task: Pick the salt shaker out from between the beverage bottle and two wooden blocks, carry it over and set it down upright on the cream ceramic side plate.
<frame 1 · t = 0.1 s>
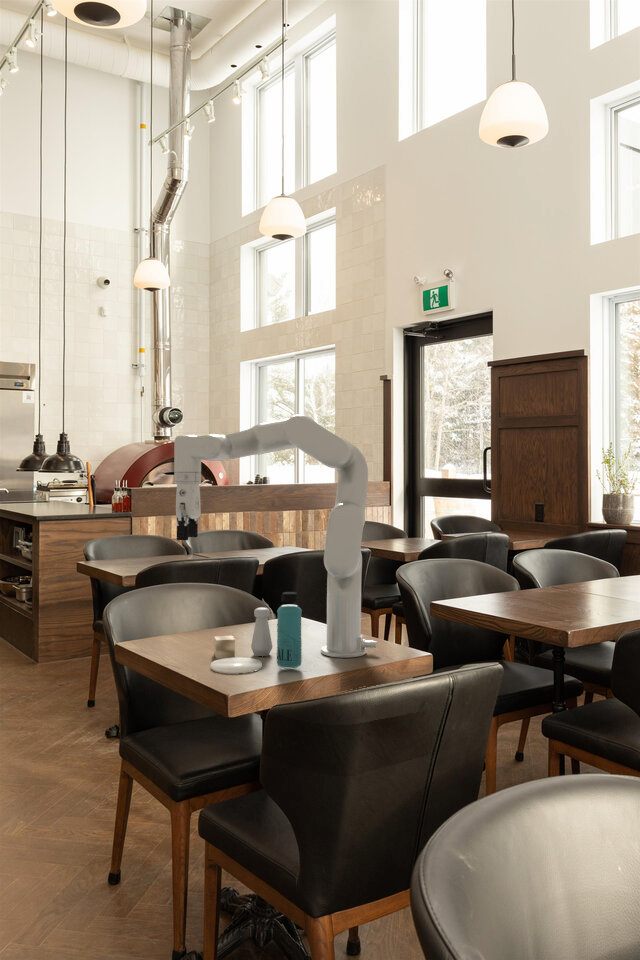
hand: (187, 538, 230), 31 cm above the table, tool pointing down, fingers open, 9 cm apart
walnut block: (288, 660, 217), on the table
oak block: (224, 656, 221), on the table
salt shaker: (261, 656, 222), on the table
beverage bottle: (289, 671, 206), on the table
side plate: (236, 667, 208), on the table
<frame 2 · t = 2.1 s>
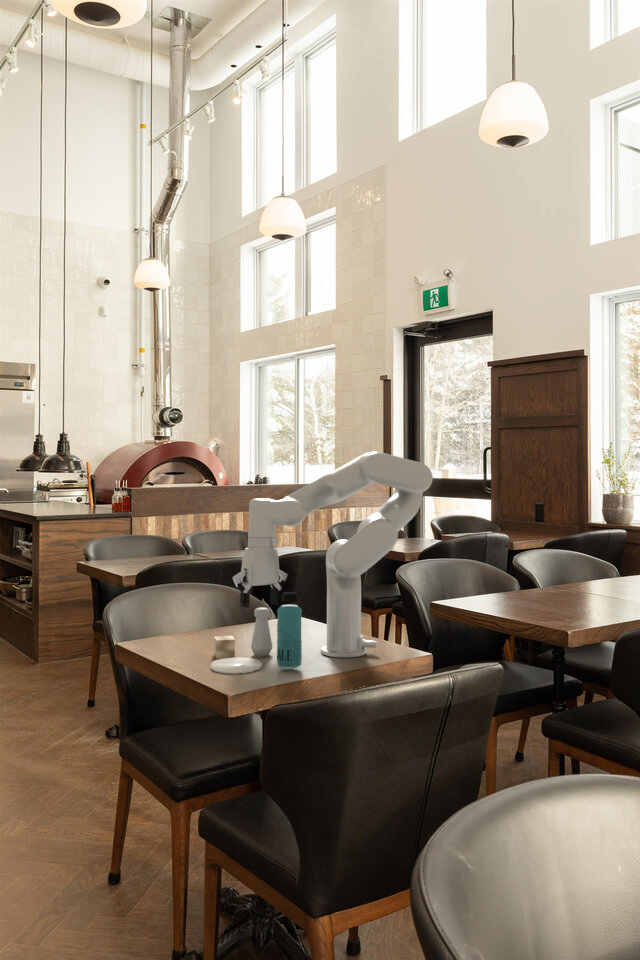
hand: (259, 605, 221), 14 cm above the table, tool pointing down, fingers open, 9 cm apart
nothing on the table moved.
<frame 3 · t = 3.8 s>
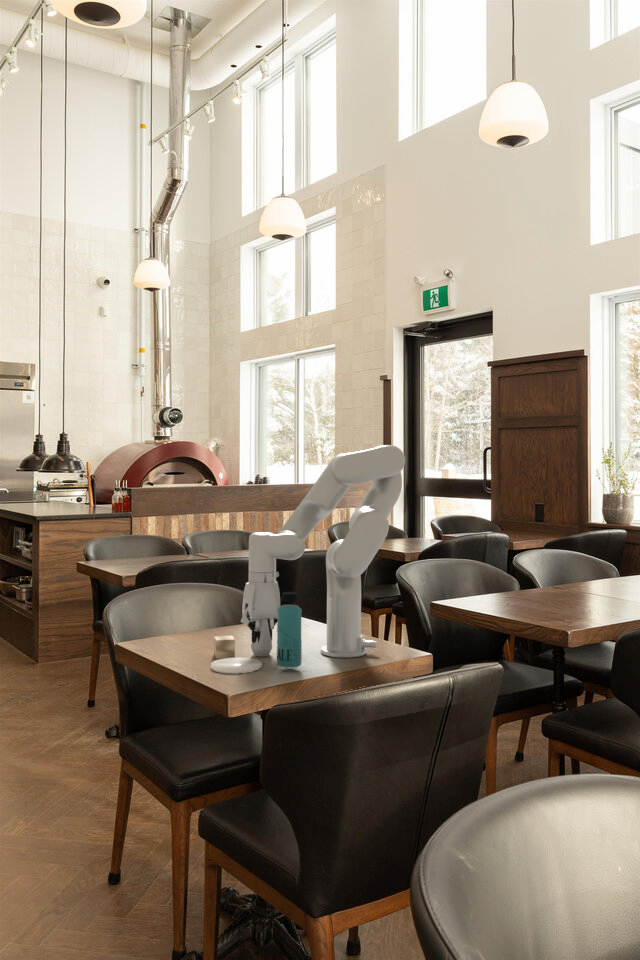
hand: (261, 643, 222), 3 cm above the table, tool pointing down, fingers closed on salt shaker, 3 cm apart
salt shaker: (261, 655, 222), on the table, touching gripper
everything else where it was.
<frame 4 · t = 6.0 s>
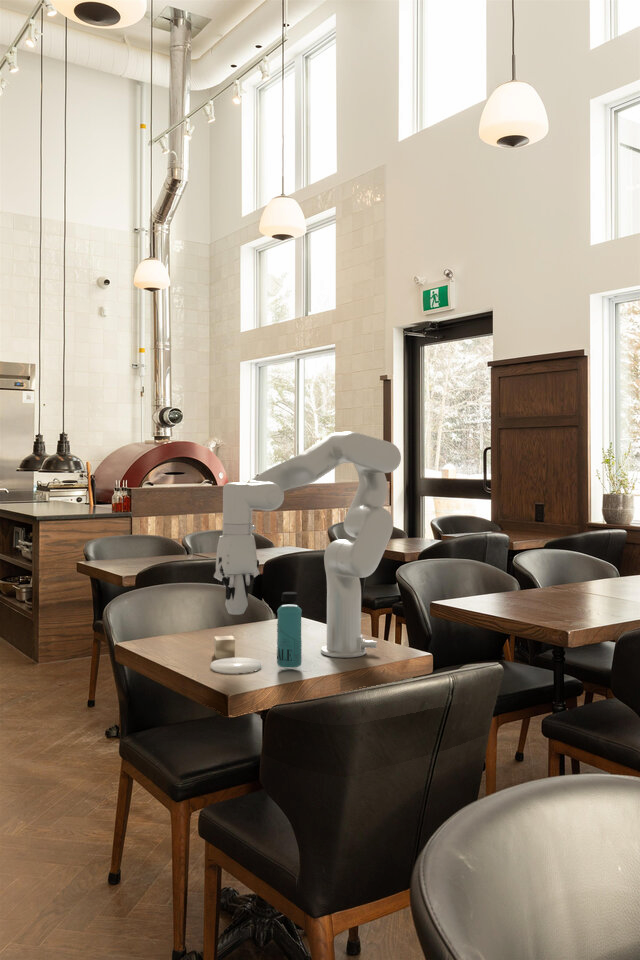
hand: (236, 600, 208), 17 cm above the table, tool pointing down, fingers closed on salt shaker, 3 cm apart
salt shaker: (236, 613, 208), point 14 cm above the table, touching gripper
everything else where it was.
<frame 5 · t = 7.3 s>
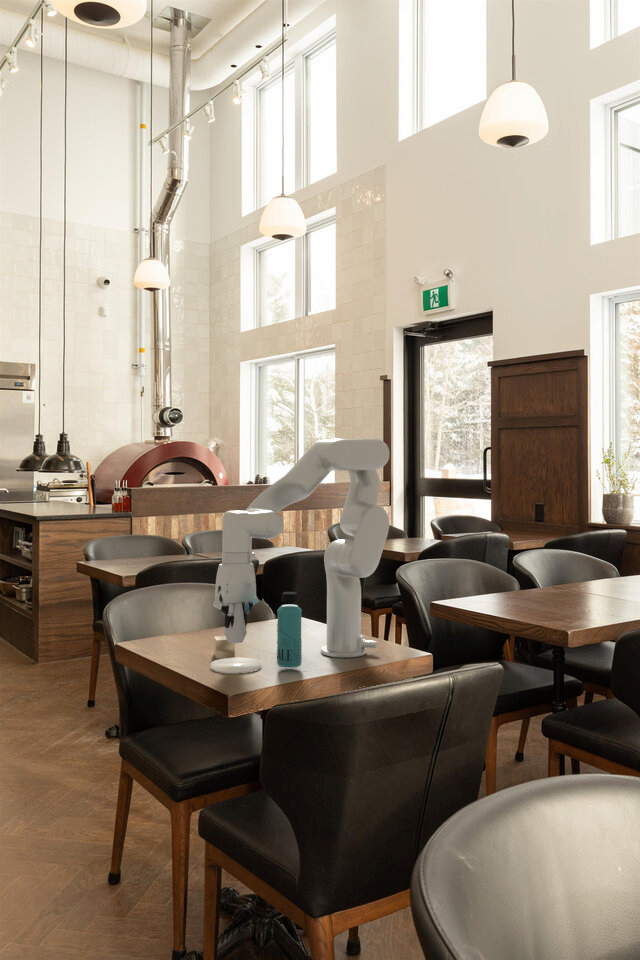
hand: (235, 629, 208), 10 cm above the table, tool pointing down, fingers closed on salt shaker, 3 cm apart
salt shaker: (235, 642, 208), point 7 cm above the table, touching gripper
everything else where it was.
when the fingers open (6 cm above the table, at t = 8.3 s): salt shaker drops 1 cm, resting on side plate.
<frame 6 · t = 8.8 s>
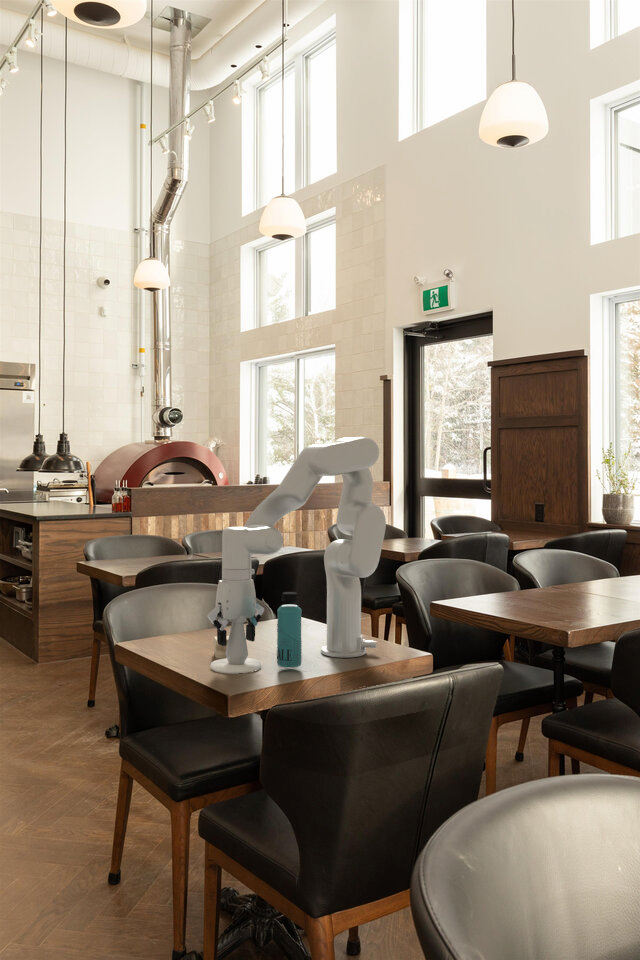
hand: (236, 642, 208), 6 cm above the table, tool pointing down, fingers open, 8 cm apart
salt shaker: (236, 663, 208), point 1 cm above the table, touching side plate
everything else where it was.
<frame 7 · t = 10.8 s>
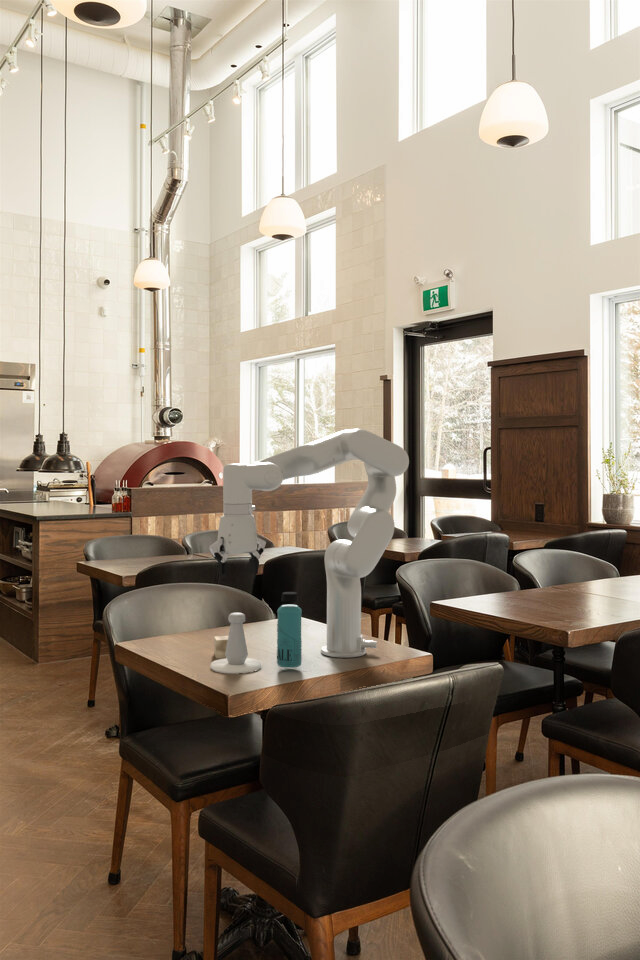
hand: (238, 575, 212), 23 cm above the table, tool pointing down, fingers open, 9 cm apart
nothing on the table moved.
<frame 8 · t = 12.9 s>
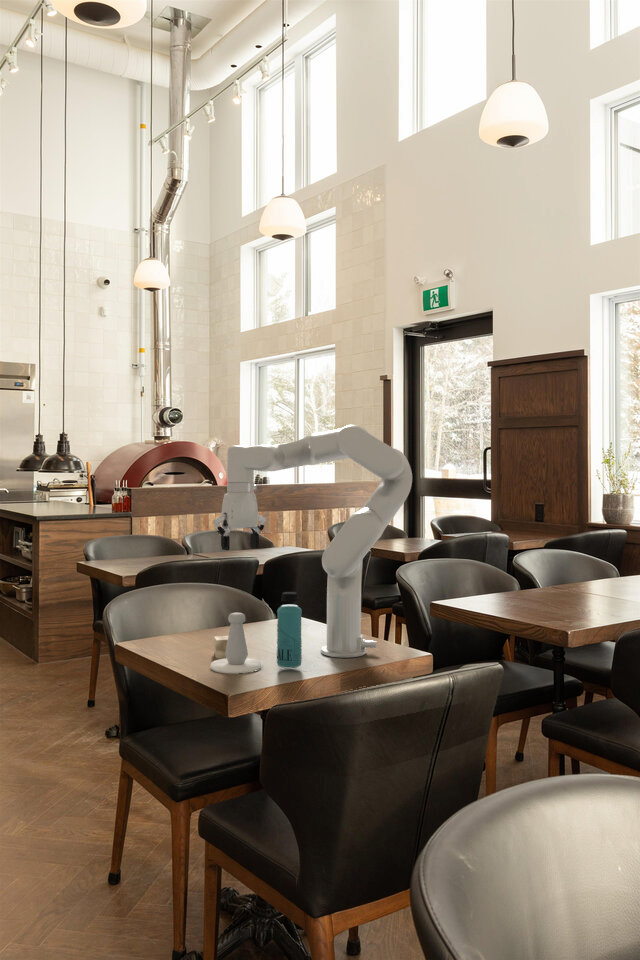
hand: (240, 548, 230), 28 cm above the table, tool pointing down, fingers open, 9 cm apart
nothing on the table moved.
at the end: salt shaker 0.1 cm from the side plate (horizontally); salt shaker point 0.8 cm above the table; salt shaker tilted 0° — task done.
